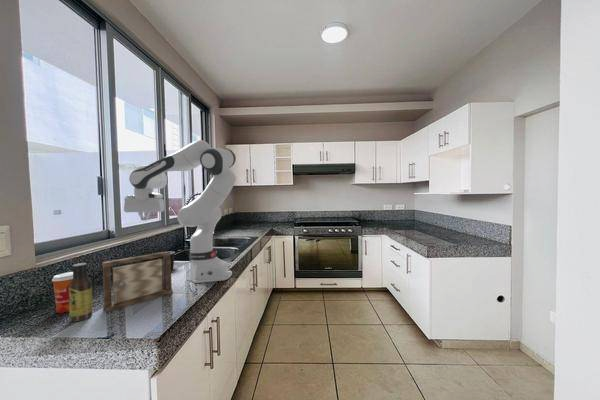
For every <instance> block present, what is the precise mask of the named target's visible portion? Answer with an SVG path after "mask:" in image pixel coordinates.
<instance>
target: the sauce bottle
mask: <svg viewBox="0 0 600 400" xmlns="http://www.w3.org/2000/svg"><path fill="white" fill-rule="evenodd" d="M87 269H88V264H87V262H80V263H75V264H73V265H72V266H71V270H72V272H73V279H72V281H71V282H70V284H69V316H70V317H69V319H70V321H72V322H81V321H84V320H88V319H89V318H91V317H92V315H93V287H92V279H90V277H89V276H88V273H87Z"/></svg>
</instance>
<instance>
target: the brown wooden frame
mask: <svg viewBox="0 0 600 400" xmlns="http://www.w3.org/2000/svg"><path fill="white" fill-rule="evenodd" d="M170 252H171V251H168V250H166V251H161V252H156V253H150V254H144V255H138V256H133V257H132V256H131V257H126V258H120V259H114V260H108V261H102V282H103V283H102V286H103V287H102V288H103V289H102V290H103V304H102V305H103V309H104V311H105V312H106V313H108V312H111V311H115V310H118V309H122V308H126V307H129V306H133V305H136V304H140V303H143V302H147V301H149V300H153V299H157V298H160V297H163V296H166V295H171V294H173V293H174V291H173V289H172V270H171V263H170ZM163 256H164V269H165V290H163V291H159V292H156V293H152V294H148V295H145V296H141V297H137V298H134V299H130V300H126V301H123V302H119V303H114V301H112V284H111V283H112V280H111V275H112V274H111V267H112V266H117V265H122V264H123V265H124V264H128V263H129V264H130V263H134V262H140V261H145V260H152V258H153V259H154V258H155V259H156V258H158V257H163Z"/></svg>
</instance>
